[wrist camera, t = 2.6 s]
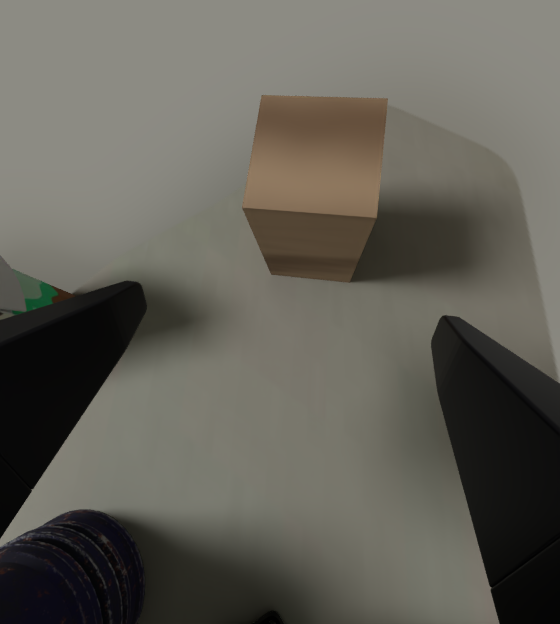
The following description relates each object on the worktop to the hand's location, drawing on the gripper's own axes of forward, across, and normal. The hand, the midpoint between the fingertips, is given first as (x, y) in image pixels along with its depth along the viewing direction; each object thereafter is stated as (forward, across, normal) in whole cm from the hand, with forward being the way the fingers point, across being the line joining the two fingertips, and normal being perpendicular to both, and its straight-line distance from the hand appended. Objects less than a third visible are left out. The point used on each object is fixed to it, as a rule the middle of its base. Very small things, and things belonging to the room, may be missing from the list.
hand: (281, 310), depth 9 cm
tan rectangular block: (+15, 0, +4) cm, 16 cm away
